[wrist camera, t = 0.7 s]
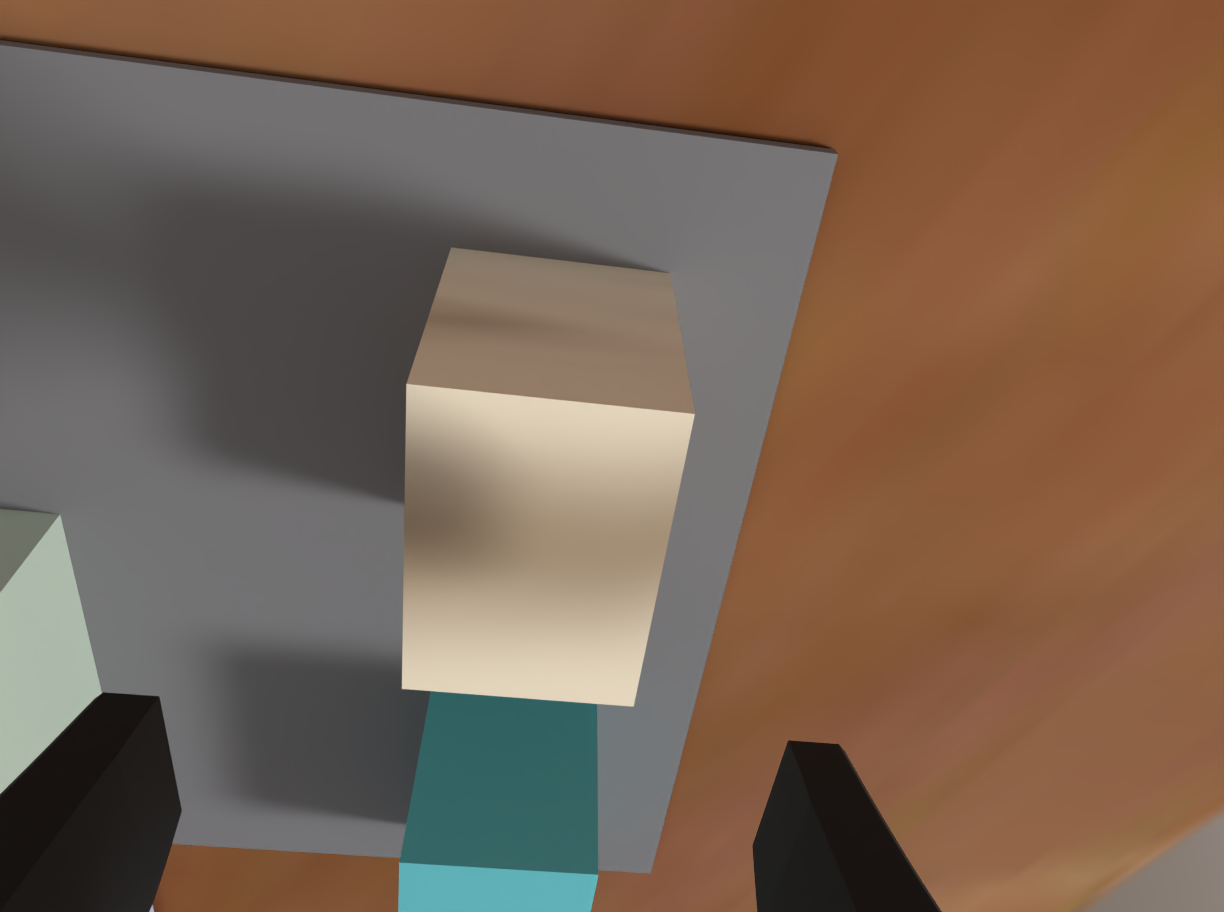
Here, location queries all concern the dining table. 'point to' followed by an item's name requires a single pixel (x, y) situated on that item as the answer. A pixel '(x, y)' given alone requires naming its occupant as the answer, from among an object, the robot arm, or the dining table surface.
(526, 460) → the maple block
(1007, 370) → the dining table surface
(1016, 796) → the dining table surface
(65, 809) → the robot arm
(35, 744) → the sage block
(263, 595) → the mat
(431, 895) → the teal block
